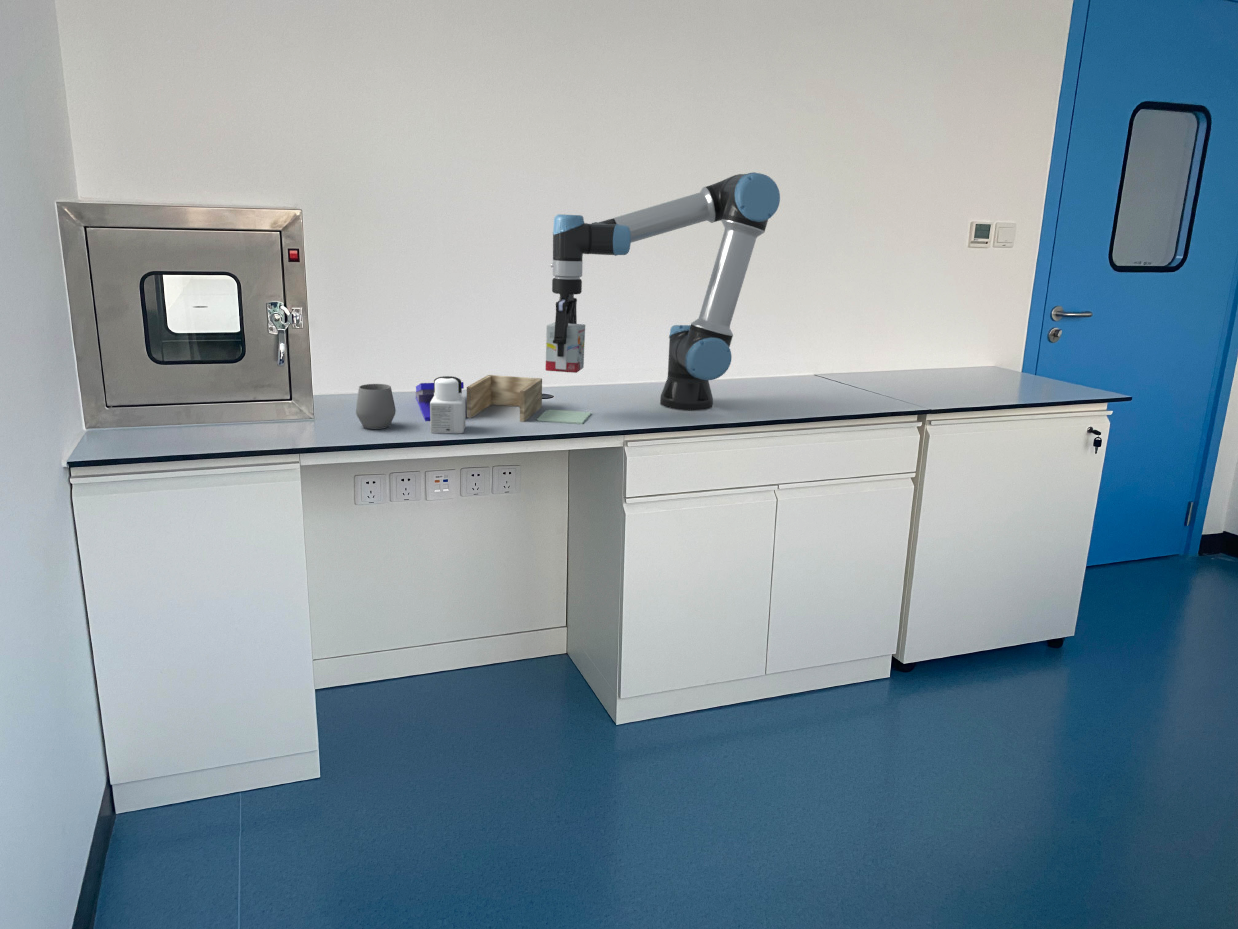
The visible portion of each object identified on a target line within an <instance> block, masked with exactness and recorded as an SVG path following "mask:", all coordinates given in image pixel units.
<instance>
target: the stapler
mask: <svg viewBox="0 0 1238 929" xmlns="http://www.w3.org/2000/svg"><path fill="white" fill-rule="evenodd" d="M463 389H465V387H464V381H461V394H463V393H462V392H463ZM433 397H434V382H420V383H419V384H417V385H416V386H415V400H416V402H417V404H418V408H419V410H420V413H421V414H422V416H423V419H424V421H425V422H430V402H431V400H432V399H433Z"/></svg>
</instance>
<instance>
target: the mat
mask: <svg viewBox="0 0 1238 929" xmlns="http://www.w3.org/2000/svg"><path fill="white" fill-rule="evenodd" d="M591 415H592V412H589V411H588V412H587V411H574V410H559V409H547V410H545V412H543V413H542V414H541V415H540V416H538V418H537V419H536V421H538V422H549V423H560V424H562V423H563V424H574V425H575V424H577V425H583V423H585V421H586V420H587V419H588V418H589V417H590V416H591Z"/></svg>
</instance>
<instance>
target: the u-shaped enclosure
mask: <svg viewBox="0 0 1238 929" xmlns="http://www.w3.org/2000/svg"><path fill="white" fill-rule="evenodd" d="M491 405H495V406H496V405H497V406H509V407H511V406H512V407H519V422H526V421H527V420H528V419H529V418H531V417H532V416H533V415H534V414H535V413H536V412H537V411H539V410H540V409H541V408H543V378H539V377H524V376H511V375H510V376H508V375H496V374H495V375H494V374H487V375H485V376H484V377H482V378H480V379H478V380H477V381H475V382H473V383H471V384H470V385H467V386H466V418H469V419H471V418H473V417H475V416H476V415H477V414H479V413H480V412H482V411H483V410H485V409H487V408H488V407H489V406H491Z"/></svg>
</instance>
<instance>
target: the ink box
mask: <svg viewBox="0 0 1238 929" xmlns="http://www.w3.org/2000/svg"><path fill="white" fill-rule="evenodd" d="M554 333H555V322H553V323H549V324H546V336H545V337H546V339H545V340H546V342H545V371H547V372H557V373H558V372H559V373H560V372H561V373H572V374H573V373H575V374H577V373H578V372H580V371H581V370H582V369H584V366H585V365H584V364H585V362H584V361H585V339H586V324H583V323H581V324H580V323H577V324H570V323H568V327H567V338H566V344H567V368H566V370H564V369H556V344H555V343H553V340H554ZM560 338H562V337H560Z"/></svg>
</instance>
